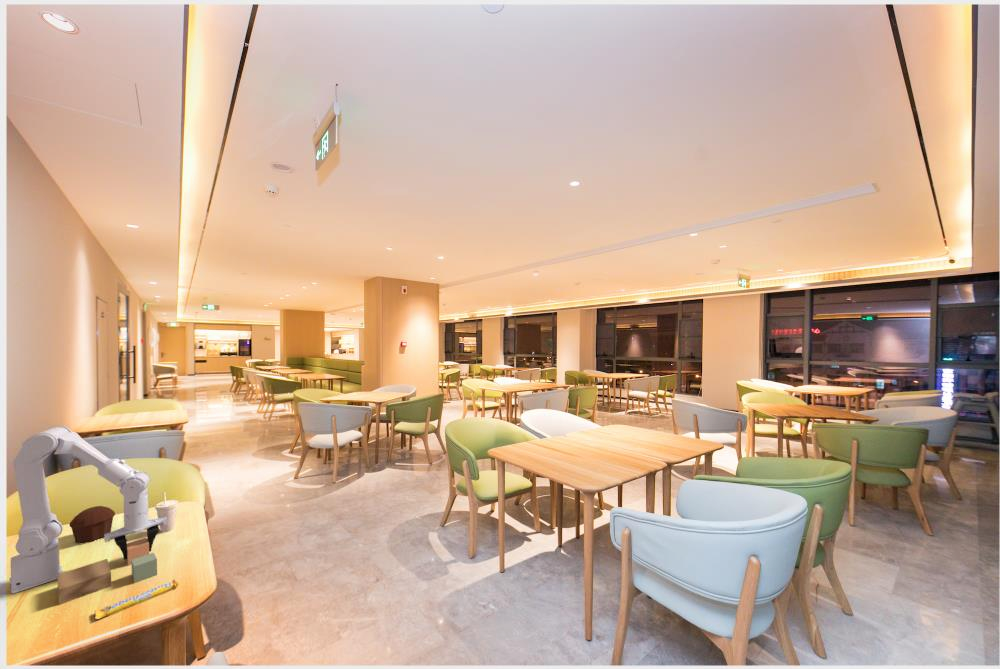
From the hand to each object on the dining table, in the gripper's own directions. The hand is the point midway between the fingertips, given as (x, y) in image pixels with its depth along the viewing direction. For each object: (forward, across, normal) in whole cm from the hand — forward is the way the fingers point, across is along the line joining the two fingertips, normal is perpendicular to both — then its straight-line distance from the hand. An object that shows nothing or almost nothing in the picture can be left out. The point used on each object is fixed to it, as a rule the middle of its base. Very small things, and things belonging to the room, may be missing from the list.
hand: (137, 554), depth 126 cm
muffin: (+2, -8, +30) cm, 31 cm away
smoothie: (+2, +10, +16) cm, 19 cm away
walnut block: (+1, -12, -7) cm, 14 cm away
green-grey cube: (+2, 0, -13) cm, 13 cm away
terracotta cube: (+1, 0, 0) cm, 1 cm away
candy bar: (+2, -3, -26) cm, 26 cm away
